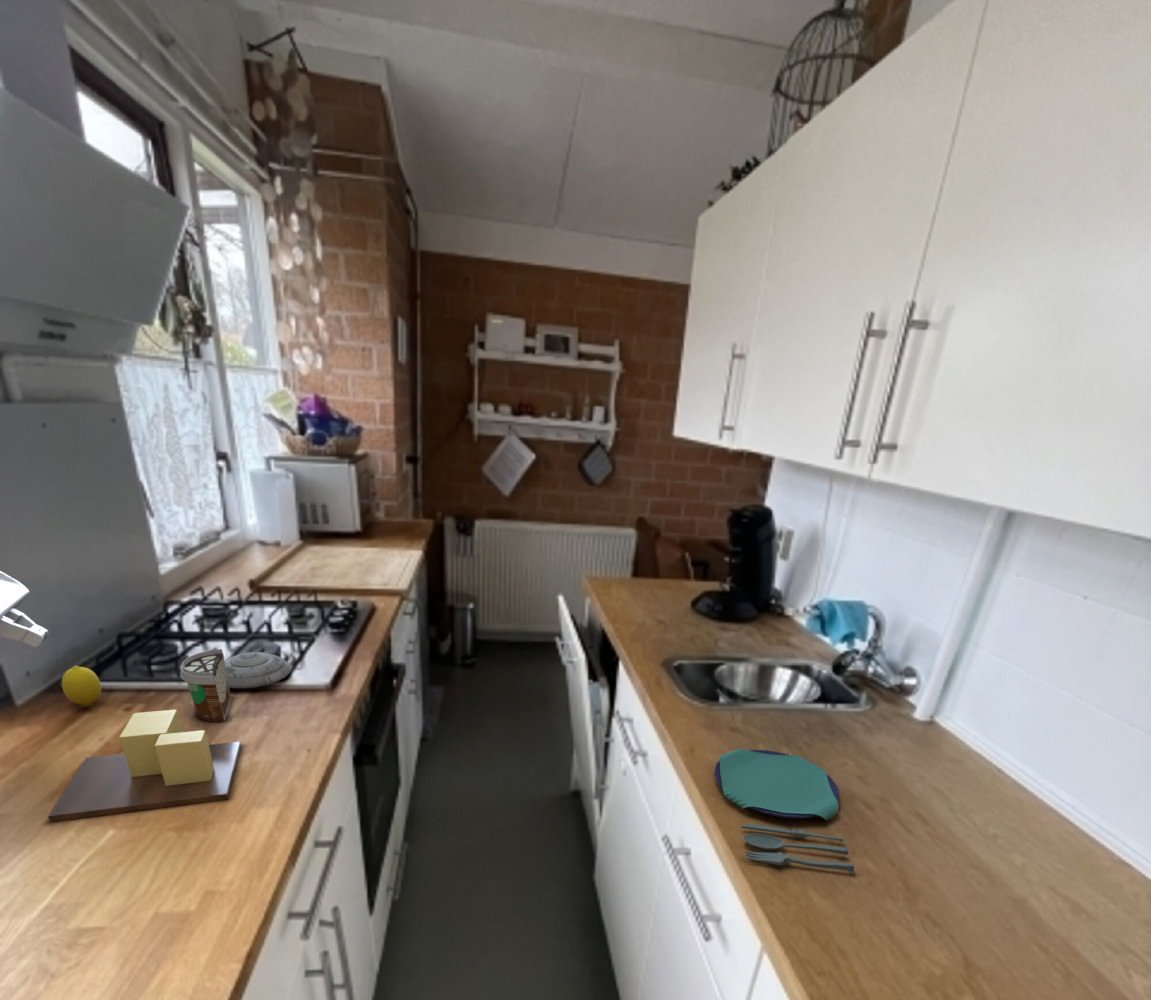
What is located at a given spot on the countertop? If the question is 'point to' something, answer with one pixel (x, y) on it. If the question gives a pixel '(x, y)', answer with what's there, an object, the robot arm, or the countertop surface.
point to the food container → (208, 684)
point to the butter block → (147, 739)
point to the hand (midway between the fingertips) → (43, 639)
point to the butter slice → (184, 757)
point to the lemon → (81, 685)
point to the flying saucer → (255, 669)
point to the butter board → (139, 786)
